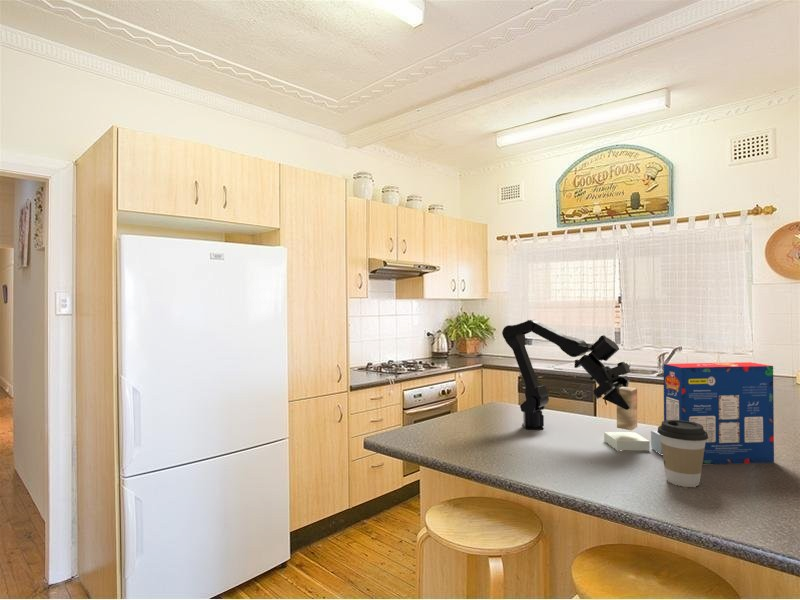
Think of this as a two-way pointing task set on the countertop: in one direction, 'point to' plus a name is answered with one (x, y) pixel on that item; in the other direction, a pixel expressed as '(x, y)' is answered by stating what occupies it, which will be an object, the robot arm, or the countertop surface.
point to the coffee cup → (682, 451)
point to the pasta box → (725, 408)
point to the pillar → (628, 417)
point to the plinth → (626, 441)
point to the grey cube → (656, 442)
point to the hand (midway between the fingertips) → (631, 407)
